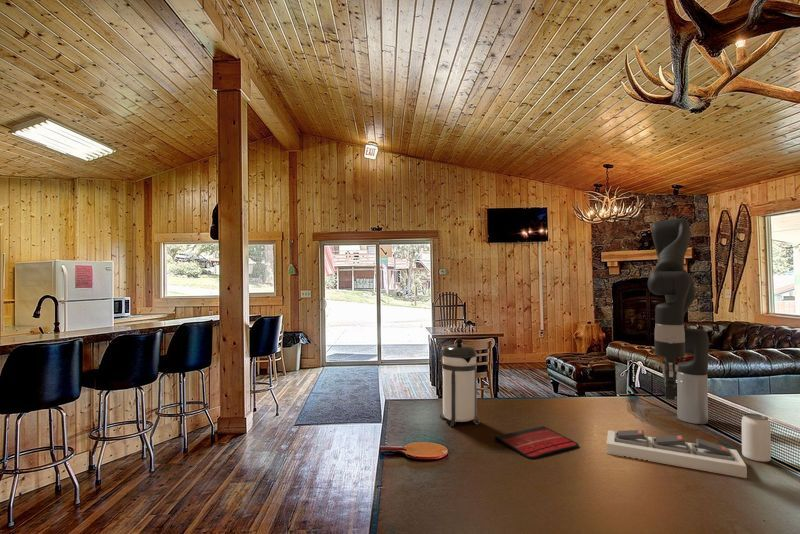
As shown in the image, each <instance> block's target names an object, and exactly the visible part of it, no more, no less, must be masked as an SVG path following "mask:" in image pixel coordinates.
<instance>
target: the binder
mask: <svg viewBox="0 0 800 534" xmlns="http://www.w3.org/2000/svg"><path fill="white" fill-rule="evenodd" d="M494 442H501V443H504V444H503V447H505V448H507V449H509V450H511V451H512V452H515V453H516V454H518V455H519V456H522V457H524V458H527V459H528V460H529V459H530V460H536V459H539V458H542V457H545V456H548V455H549V456H550V455H552V454H556V453H558V452H563V451H567V450H575V449H578V448H579V443H578V442H576V441H574V440H572V439H571V438H568V437H566V436H565V435H563V434H560V433H559V432H557V431H554V430H552V429H550V428H548V427H547V426H543V425H541V426H537V427H533V428H528V429H524V430H519V431H514V432H510V433H504V434H500V435H495V436H494Z"/></svg>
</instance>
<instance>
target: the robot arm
mask: <svg viewBox="0 0 800 534" xmlns="http://www.w3.org/2000/svg"><path fill="white" fill-rule="evenodd" d="M691 233H692V232H691V228H690V223H689V221H688V220H687V219H686V218H681V217H680V218H672V219H671V218H670V219H664V220H657V221H655V222H653V223H652V225H651V237H652V240H653V245H654V248H655V252H656V256H657V262H656V266H655V268H654V269H653V270H652V272H651V273H650V274H649V276H648V279H647V289H648V290H649V292H650V293H652V294H653V295H655V296H664V298H665V302H664V303H658V304H656V305H655V310H654V312H655V314H654V315H655V317H654V318H655V321H654V322H655V323H654V324H655V327H654V355H657V356H658V357H664V360H661V368H662V377H663V381H664V382H663V383H664V386H665V388H664V389H665V391H664V392H665V399H666V400H672V401H674V400H675V398H677V399H676V400H677V402H676V403H677V406H676V407H677V412H676V413H677V416H676V417H677V419H679V420H680V421H682V422H686V423H690V424H696V425H699V424H700V425H704V424H708V423H709V394H708V393H709V392H708V390H709V389H708V385H709V384H708V368H709V347H710V346H709V345H710V341H709V340H710V338H709V335H708V332H707V331H706V330H704V329H699V328H690V327H684V326H685V325H684V324H685V323H684V319H685V318H684V317H685V315H686V313H687V312H688V310H689V309H690V307H691V306H692V304H693V302H694V301H695V298H696V292H695V291H696V290H695V287H694V286H695V284H694V280H693V277H692V276H691V275H690V273H689V272H688V271H687V270H685V268H684V266H685V264H684V263H685V255H686V253H687V252H688V251H687V250H688V248H689V245H690V242H691V237H692V236H691ZM686 354H688V355H694V357H693V358H692V359H691V360H688V361H682V362H678V361H676V358H678V359H680V358H681V359H682V358H684V357H685V356H686ZM676 387H677V388H676ZM675 388H676V389H677V390H675ZM676 391H677V392H676ZM675 393H676V394H677V395H676V394H675ZM675 395H676V396H677V397H676V396H675Z"/></svg>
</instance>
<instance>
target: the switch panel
mask: <svg viewBox="0 0 800 534" xmlns="http://www.w3.org/2000/svg"><path fill="white" fill-rule="evenodd" d="M685 444H686V445H672V446H661V445H657V442H656V436H654V437H653V436H647V435H645V439H619V438H618V431H614V430H609V429H608V430H607V437H606V454H608V455H613V456H620V457H624V456H626V457H625V458H629V457H631V458H630V459H635V458H638V459H637V460H641V459H643V460H642V461H646V460H648V462H651V463H652V462H654V463H659V464H665V465H669V466H676V467H679V468H680V467H681V468H687V469H692V470H698V471H704V472H709V473H715V474H721V475H727V476H733V477H738V478H743V479H747V478H748V474H747V473H748V470H747V467H748V466H747V465H746V463H745V462H744V460H743V459H742V456H740V453H739V452H738V450H737V449H733V448H727V450H728V451H729V456H723V455H720V454H717V453H714V452H711V451H708V450H705V449H702V448H699V447H698V446H697V444H696V443H692V442H686V441H685Z"/></svg>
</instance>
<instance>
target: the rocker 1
mask: <svg viewBox="0 0 800 534" xmlns="http://www.w3.org/2000/svg"><path fill="white" fill-rule="evenodd" d="M644 431H645V430H644V429H633V430H632V429H630V430H618V431H617V432H618V438H619V439H645V436H646V435H645V432H644Z"/></svg>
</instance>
